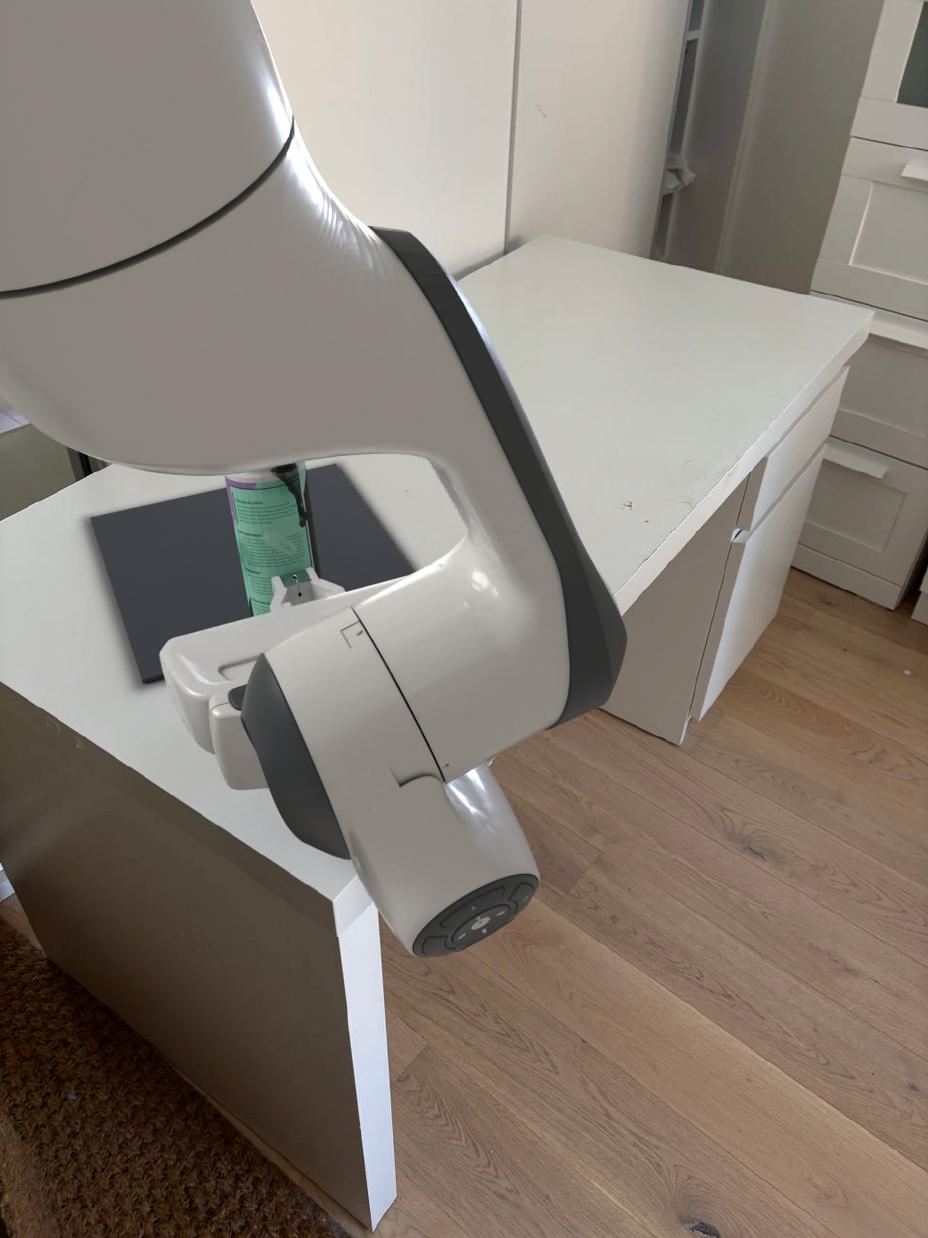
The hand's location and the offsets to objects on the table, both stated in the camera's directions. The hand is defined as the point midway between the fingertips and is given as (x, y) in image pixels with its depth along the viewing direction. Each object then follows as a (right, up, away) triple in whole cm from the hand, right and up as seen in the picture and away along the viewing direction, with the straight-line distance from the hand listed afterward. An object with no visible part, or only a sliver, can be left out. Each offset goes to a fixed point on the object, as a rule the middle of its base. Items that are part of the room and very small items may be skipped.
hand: (291, 579), depth 67 cm
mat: (-7, +3, +19) cm, 20 cm away
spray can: (-1, -7, +7) cm, 10 cm away
